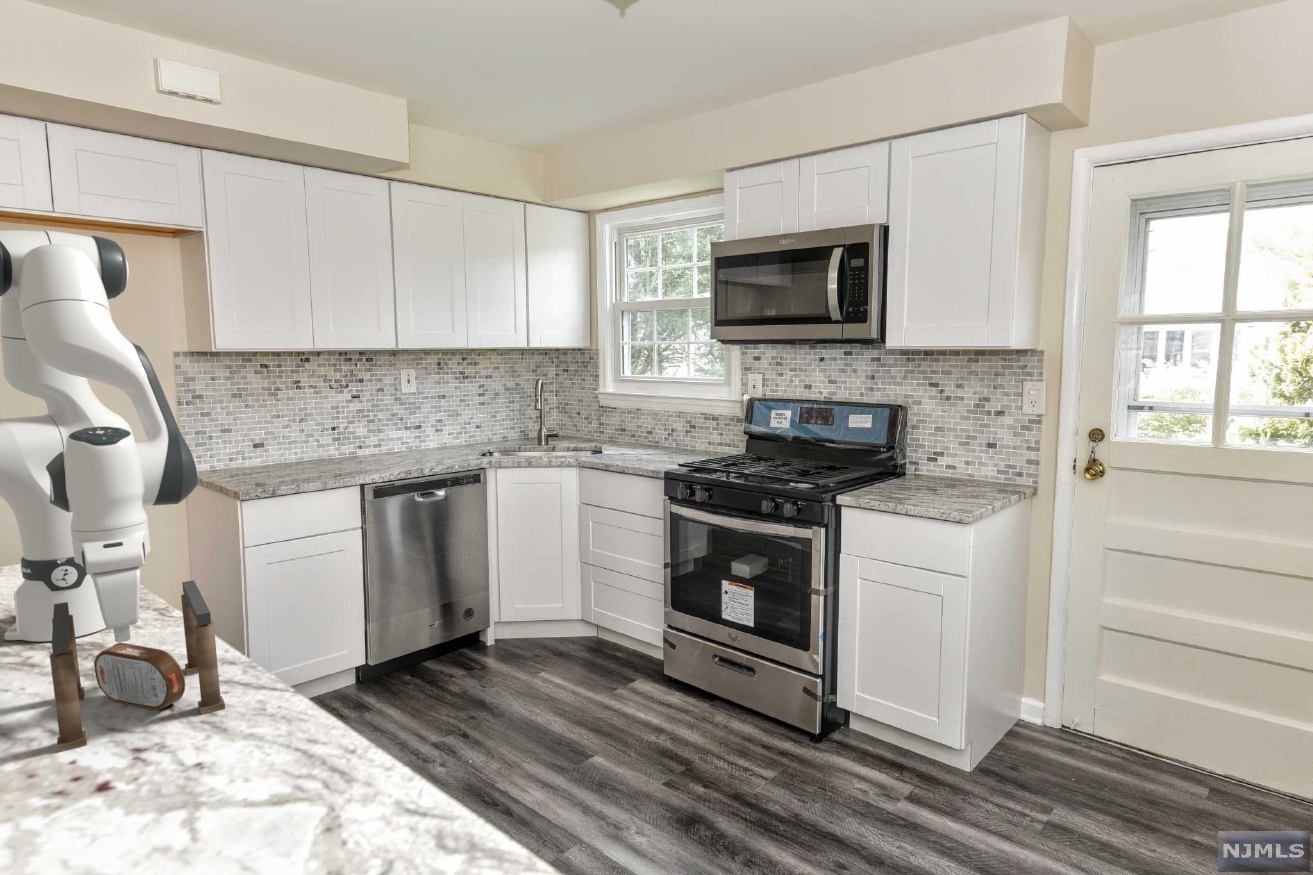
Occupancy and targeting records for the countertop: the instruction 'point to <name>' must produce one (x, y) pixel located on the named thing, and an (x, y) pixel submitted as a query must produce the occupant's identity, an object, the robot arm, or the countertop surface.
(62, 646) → the grey bar
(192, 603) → the dark grey beam
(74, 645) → the wooden stanchion pair
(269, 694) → the countertop surface
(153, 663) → the tin
